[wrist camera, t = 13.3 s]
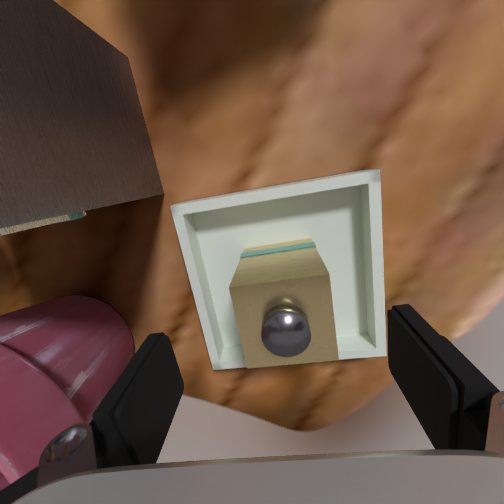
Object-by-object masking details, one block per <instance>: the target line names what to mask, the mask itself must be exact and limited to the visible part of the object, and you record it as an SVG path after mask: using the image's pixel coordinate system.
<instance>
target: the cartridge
mask: <svg viewBox="0 0 504 504" xmlns="http://www.w3.org/2000/svg"><path fill="white" fill-rule="evenodd" d="M229 292H230V296H231V300H232V304H233V309H234V313H235V317H236V322H237V326H238V330H239V335H240V339H241V343H242V348H243V352H244V356H245V361H246V365H247V369H248V368H259V367H270V366H280V365H291V364H302V363H313V362H324V361H335V360H339V355H338V346H337V337H336V328H335V319H334V310H333V301H332V292H331V283H330V274H329V272H328V270H327V268H326V266H325V264H324V262H323V260H322V258H321V256H320V254H319V253H318V251H317V249H316V245H315V243H314V242H313V241H312V239H311V238H307V239H300V240H294V241H288V242H281V243H275V244H269V245H262V246H256V247H249V248H244V251H243V253H241V256H240V261H239V263H238V266H237V268H236V271H235V273H234V276H233V278H232V280H231V283H230V285H229Z"/></svg>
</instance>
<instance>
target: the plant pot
mask: <svg viewBox="0 0 504 504" xmlns="http://www.w3.org/2000/svg"><path fill="white" fill-rule="evenodd" d="M133 351H134V344H133V338H132V334H131V332H130V329H129V327H128V326H127V324H126V322H125V321H124V320H123V318H122V317H121V316H120V315H119V314H118V313H117V312H116V311H115V310H114V309H113V308H111V307H110V306H109V305H107V304H105V303H104V302H102V301H100V300H97V299H95V298H92V297H88V296H83V295H69V296H64V297H60V298H57V299H54V300H50V301H47V302H44V303H40V304H37V305H33V306H30V307H27V308H23V309H20V310H17V311H13V312H10V313H7V314H4V315H0V491H1V490H2V489H4V488H5V487H7V486H8V485H10V484H11V483H13V482H14V481H16V480H17V479H19V478H20V477H22V476H24V475H25V474H27V473H28V472H30V471H31V470H33V469H34V468H36V467H37V466H39V460H40V456H41V453H42V452H43V450H44V448H45V447H46V446H47V444H48V443H49V442H50V441H51V440H52V439H53V438H54V437H55V436H56V435H58V434H59V433H60V432H62V431H63V430H65V429H66V428H68V427H70V426H72V425H75V424H79V423H87V424H89V423H90V422H91V420H92V419H93V417H92V414H93V413H94V411H95V410H96V408H97V407H98V406H99V404H100V403H101V401H102V400H103V399H104V397H105V396H106V394H107V393H108V391H109V390H110V389H111V387H112V386H113V384H114V383H115V382H116V380H117V379H118V377H119V376H120V375H121V373H122V372H123V370H124V369H125V368H126V366H127V365H128V363H129V362H130V360H131V359H132V356H133Z"/></svg>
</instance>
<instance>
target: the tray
mask: <svg viewBox="0 0 504 504" xmlns="http://www.w3.org/2000/svg"><path fill="white" fill-rule="evenodd" d="M170 208H171V211H172V215H173V219H174V223H175V227H176V230H177V234H178V238H179V242H180V246H181V249H182V253H183V257H184V261H185V265H186V268H187V272H188V276H189V280H190V284H191V288H192V291H193V295H194V299H195V303H196V307H197V310H198V314H199V318H200V322H201V326H202V329H203V333H204V337H205V341H206V345H207V348H208V352H209V356H210V360H211V364H212V367H213V370H219V369H231V368H244V367H247V365H246V361H245V356H244V352H243V348H242V343H241V339H240V335H239V330H238V326H237V322H236V317H235V313H234V309H233V304H232V300H231V296H230V292H229V285H230V283H231V280H232V278H233V276H234V273H235V271H236V268H237V266H238V263H239V261H240V256H241V253H243V251H244V248H249V247H256V246H262V245H269V244H275V243H281V242H288V241H294V240H300V239H307V238H311V239H312V241H313V242H314V243H315V245H316V249H317V251H318V253H319V254H320V256H321V258H322V260H323V262H324V264H325V266H326V268H327V270H328V272H329V274H330V283H331V292H332V301H333V310H334V319H335V328H336V337H337V346H338V355H339V360H341V359H353V358H366V357H378V356H387V355H386V326H385V297H384V268H383V239H382V210H381V181H380V169H371V170H361V171H355V172H350V173H344V174H338V175H332V176H327V177H321V178H315V179H310V180H304V181H298V182H293V183H287V184H281V185H275V186H270V187H264V188H258V189H253V190H247V191H241V192H236V193H230V194H224V195H219V196H213V197H207V198H201V199H196V200H190V201H184V202H181V203H178V204H175V205H172V206H170Z"/></svg>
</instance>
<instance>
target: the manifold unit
mask: <svg viewBox="0 0 504 504" xmlns="http://www.w3.org/2000/svg"><path fill="white" fill-rule="evenodd" d="M162 194H164V192H163V188H162V185H161V181H160V177H159V173H158V170H157V166H156V162H155V158H154V155H153V151H152V147H151V143H150V139H149V136H148V132H147V128H146V124H145V121H144V117H143V113H142V109H141V106H140V102H139V98H138V94H137V91H136V87H135V83H134V79H133V76H132V72H131V68H130V64H129V61H128V57H127V56H126V55H124V54H123V53H122V52H120V51H119V50H118V49H116V48H115V47H114V46H112V45H111V44H110V43H109V42H107V41H106V40H105V39H103V38H102V37H101V36H99V35H98V34H97V33H95V32H94V31H93V30H91V29H90V28H89V27H88V26H86V25H85V24H84V23H82V22H81V21H80V20H78V19H77V18H76V17H74V16H73V15H72V14H71V13H69V12H68V11H67V10H65V9H64V8H63V7H61V6H60V5H59V4H57V3H56V2H55V1H53V0H0V235H6V234H10V233H14V232H19V231H23V230H27V229H31V228H36V227H40V226H44V225H48V224H54V223H59V222H65V221H70V220H75V219H79V218H83V217H84V216H86V212H85V211H86V210H91V209H96V208H100V207H105V206H110V205H115V204H119V203H124V202H129V201H134V200H138V199H143V198H148V197H152V196H157V195H162Z"/></svg>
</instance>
